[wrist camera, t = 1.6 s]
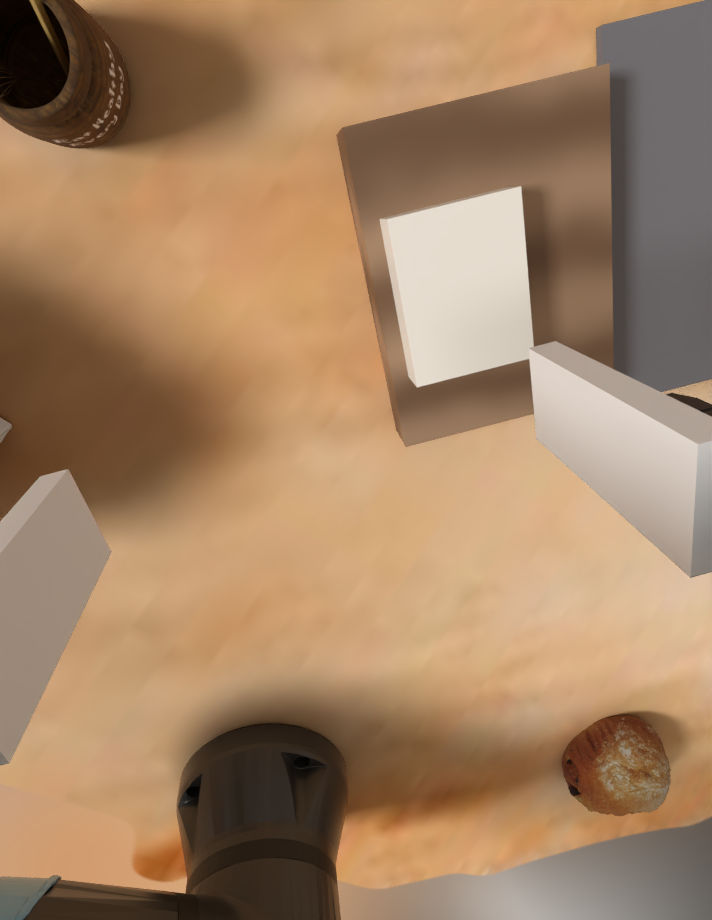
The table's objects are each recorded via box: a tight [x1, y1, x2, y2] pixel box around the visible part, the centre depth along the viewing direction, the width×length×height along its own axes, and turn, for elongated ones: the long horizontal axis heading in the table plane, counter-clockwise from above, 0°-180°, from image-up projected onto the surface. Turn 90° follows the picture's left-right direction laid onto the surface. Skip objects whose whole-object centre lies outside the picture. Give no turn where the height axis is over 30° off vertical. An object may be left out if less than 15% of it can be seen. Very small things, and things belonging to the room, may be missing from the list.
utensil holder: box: [0, 0, 130, 148], centre depth 22 cm, size 6×6×12 cm
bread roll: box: [562, 715, 671, 816], centre depth 54 cm, size 10×10×8 cm
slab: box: [380, 186, 534, 387], centre depth 30 cm, size 9×7×2 cm
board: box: [336, 63, 614, 447], centre depth 33 cm, size 18×14×3 cm
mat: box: [596, 0, 712, 392], centre depth 34 cm, size 22×13×1 cm, turn 13°
